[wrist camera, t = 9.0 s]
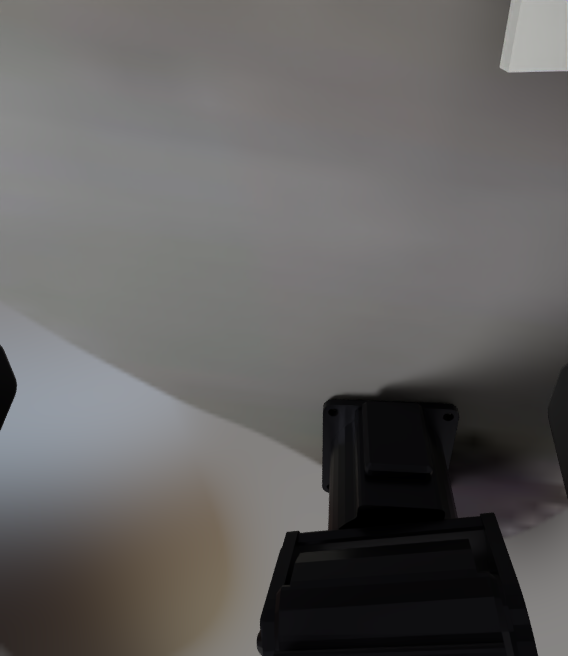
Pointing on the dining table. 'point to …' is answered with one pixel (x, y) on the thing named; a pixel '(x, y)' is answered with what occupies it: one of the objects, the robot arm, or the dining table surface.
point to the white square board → (536, 36)
